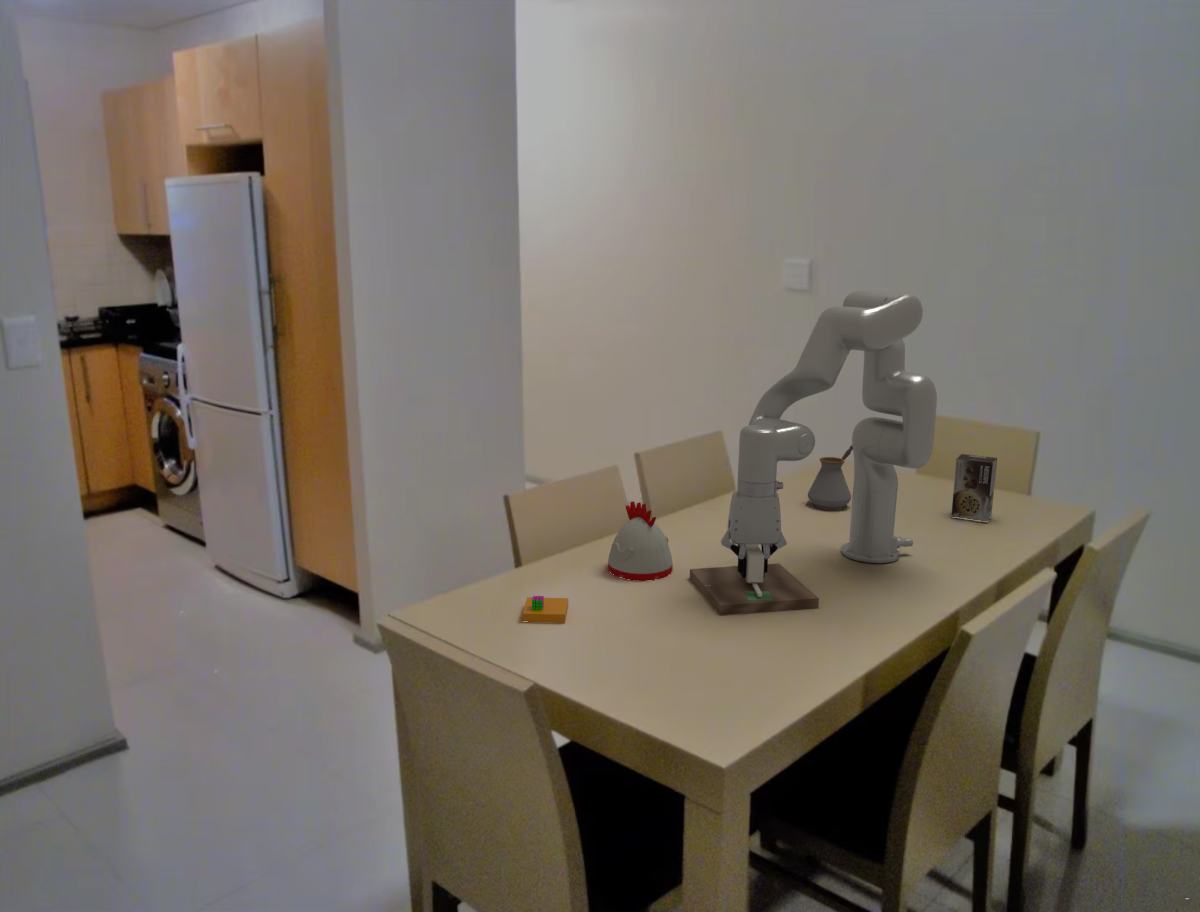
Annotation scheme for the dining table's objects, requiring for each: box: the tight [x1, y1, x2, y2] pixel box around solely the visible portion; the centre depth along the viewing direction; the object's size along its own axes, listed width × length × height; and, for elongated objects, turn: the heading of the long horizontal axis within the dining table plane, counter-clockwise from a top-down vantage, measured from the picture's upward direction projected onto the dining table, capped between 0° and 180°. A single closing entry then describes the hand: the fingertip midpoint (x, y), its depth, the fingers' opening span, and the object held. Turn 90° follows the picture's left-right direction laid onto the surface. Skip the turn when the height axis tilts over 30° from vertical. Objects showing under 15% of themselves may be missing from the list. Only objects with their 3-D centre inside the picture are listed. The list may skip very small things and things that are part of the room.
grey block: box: [745, 544, 764, 597], centre depth 182 cm, size 12×3×7 cm, turn 1°
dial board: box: [689, 563, 820, 616], centre depth 185 cm, size 20×20×2 cm
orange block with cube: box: [521, 595, 569, 624], centre depth 173 cm, size 8×8×4 cm
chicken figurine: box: [607, 500, 673, 582], centre depth 196 cm, size 14×14×15 cm
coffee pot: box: [807, 445, 853, 511], centre depth 249 cm, size 21×12×15 cm, turn 141°
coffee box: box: [950, 453, 998, 521], centre depth 236 cm, size 9×6×16 cm
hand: (752, 574), depth 185 cm, fingers closed on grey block, 3 cm apart
